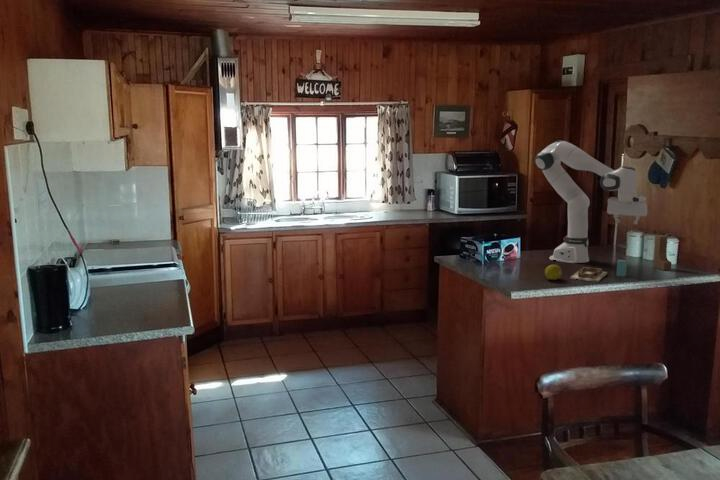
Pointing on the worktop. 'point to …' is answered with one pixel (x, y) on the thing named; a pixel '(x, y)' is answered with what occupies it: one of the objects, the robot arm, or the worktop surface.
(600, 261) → the worktop surface
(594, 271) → the keyhole guide
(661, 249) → the wooden block
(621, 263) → the teal peg
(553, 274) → the lemon
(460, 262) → the worktop surface
